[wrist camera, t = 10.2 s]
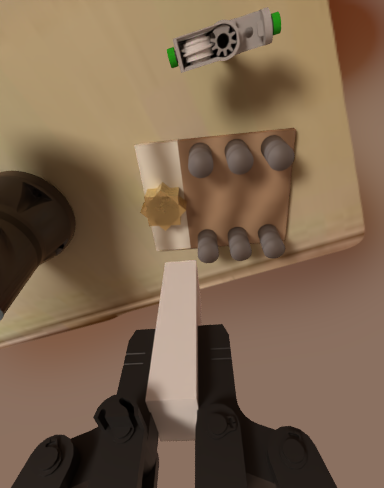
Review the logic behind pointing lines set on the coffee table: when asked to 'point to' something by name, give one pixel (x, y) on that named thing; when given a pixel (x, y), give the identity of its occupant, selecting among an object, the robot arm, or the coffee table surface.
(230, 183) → the board
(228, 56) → the mechanical component
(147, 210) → the star-shaped block
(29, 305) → the coffee table surface
